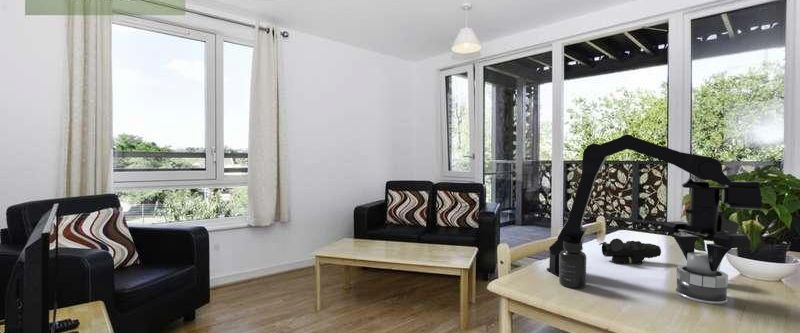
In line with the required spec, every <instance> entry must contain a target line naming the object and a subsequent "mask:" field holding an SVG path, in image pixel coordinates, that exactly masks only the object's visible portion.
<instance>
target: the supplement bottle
mask: <svg viewBox="0 0 800 333" xmlns="http://www.w3.org/2000/svg"><path fill="white" fill-rule="evenodd" d="M563 248H564V250H562V251H561V252H560V254H559V276H558V281H559V284H560V285H561V286H563V287H565V288H568V289H576V290H577V289H578V290H579V289H580V290H581V289H583V288H585V287H586V285H587V255H586V253H585V252H583V251H584V250H583V249H584V248H583V242H580V241H575V240H565V241H564V242H563Z"/></svg>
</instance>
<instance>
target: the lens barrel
mask: <svg viewBox="0 0 800 333" xmlns="http://www.w3.org/2000/svg"><path fill="white" fill-rule="evenodd" d="M728 286H729V275H728V274H727V273H726V272H724V271H722V270H720V269H719V270H717V274H714V275H708V274H700V273H695V272H692V271H689V270H687V264H686V265H679V266H676V287H675V294H677V295H678V296H680V297H681V298H684V299H687V300H689V301H690V300H691V301H693V302H697V303H701V304H707V305H708V304H709V305H727V303H728V300H729V299H728V297H727V296H728V295H727V294H728Z"/></svg>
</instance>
